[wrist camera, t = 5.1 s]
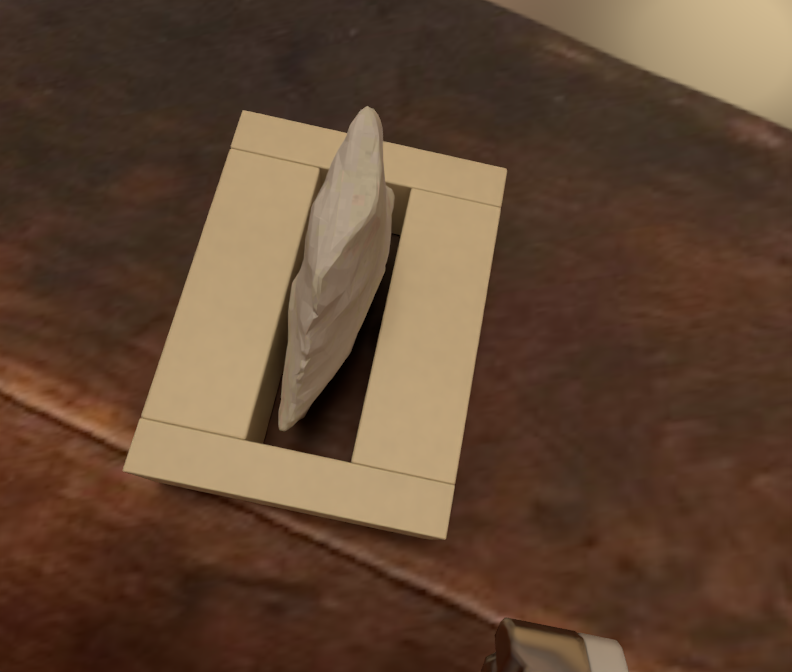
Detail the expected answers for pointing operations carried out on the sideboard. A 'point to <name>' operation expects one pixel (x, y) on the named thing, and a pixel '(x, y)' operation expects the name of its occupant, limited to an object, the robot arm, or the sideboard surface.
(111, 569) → the sideboard surface
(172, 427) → the holder
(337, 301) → the arrowhead
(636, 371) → the sideboard surface
